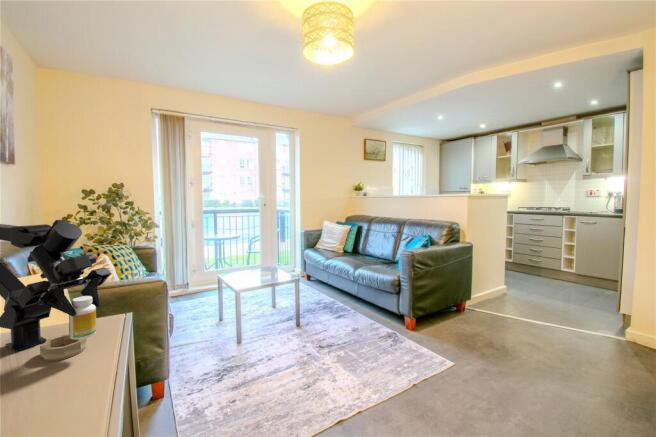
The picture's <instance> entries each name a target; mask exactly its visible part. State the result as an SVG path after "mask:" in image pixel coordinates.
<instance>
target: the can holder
mask: <svg viewBox="0 0 656 437" xmlns="http://www.w3.org/2000/svg"><path fill="white" fill-rule="evenodd" d="M86 346H87V338H84V339H77V340H74V339H70V337H69V333H68V334H62V335H59V336H55V337H53V338H50V339H47V341H46V342H43V343H41V345H40V346H39V357H41V358H42V360H43V361H46V362H55V361H57V362H58V361H63V360H66V359H70V358H72V357H75V356H77V355H79V354H81V353H82V352H83V351H84V350H85V349H86Z"/></svg>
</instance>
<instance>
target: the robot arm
mask: <svg viewBox="0 0 656 437" xmlns="http://www.w3.org/2000/svg"><path fill="white" fill-rule="evenodd" d="M82 235H83V230H82V229H81V228H80V226H77V225H76V224H74V223H70V222H67V221H66V220H65V219H55V221H53V223H52V225H50V224H48V223H46V224H45V223H44V224H31V225H11V224H3V223H0V241H6V242H10V245H12V246H14V247H17V248H19V249H26V248H34V249H32V250H31V251H29V255H28V257H27V262H28V263H31V262H35V263H36V265H37V267H38V268H39V269H40V271H41V273H40V275H39V276H40V278H41V279H46V280H42V281H37V282H33V283H27V285H25V284H24V283H23V282H22V281H21V280H20V279H19V278H18V277H17V276H16V275H15V274H14V273H13V272H12V271H11V270H10V269H9V268H8V267H7V266H6V265H5V264H4V263H3V262H2V261H0V297H1V298H2V299H3V300H4V306H3V312H2V314H1V315H0V328H2V329H7V330H10V342H8V343H6V344H5V347H6V348H8V349H10V350H12V351H14V352H19V351H21V350H25V349H28V348H31V347H34V346H37V345H39V344H43V343H45V342H46V341H47V340H48V339H46V338H44V337H42V335H41V320H43V319H48V318H49V317H50V316H51V310H52V309H55V310H57V311H59V312H62V313H64V314H67V315H68V316H69V315H71V316H75V315H76V311H75V309H74V308H73V307H74V306H73V305H72V302H70V300H69V299H68V298H67V296H66V294H65V290H68V289H71V288H74V287H79V286H80V287H81V288H82V289H81V291H80V294H81V295H82V296H91V297H92V303H91V304H93V305H95V306H96V309H98V308H99V307H100V305H101V304H100V299H99V292H98V287H100V286H102V285H103V284H104V283H105V282H107V280H108V279H109V277H110V276H111V275H112V272H111V271H110V270H109V268H108V267H99V268H96V269H92V270H91V271H89V273H88V274H87V275H86V276H83V277H81V276H82V275H83V274H85V270H86V269H88V268H92V267H93V265H94V264H96V263H97V261H98V260H97V257H96V255H95V254H94V253H93V252H85V253H82V254H81V255H79V256H74V257H73V256H72V257H70V258H68V256H67V255H66V252H68V251H71V249H72V247H73V246H74V245H75V244H76V243H77V241H78V240H79V239H80V238H81V236H82Z"/></svg>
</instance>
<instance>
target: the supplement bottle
mask: <svg viewBox="0 0 656 437" xmlns="http://www.w3.org/2000/svg"><path fill="white" fill-rule="evenodd" d="M91 303H92V297H91V296H83V295H82V296H77V297H74V298H72V300H71V305H72V306H73V308H74V309H75V311H76V315H75V316H71V315H69V314H68V334H69V337H70V339H74V340H77V339H84V338H86V339H87V338H90V337H92V336H94V335H95V334H96V333H97V308H96V306H95V305H93V304H91Z"/></svg>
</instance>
